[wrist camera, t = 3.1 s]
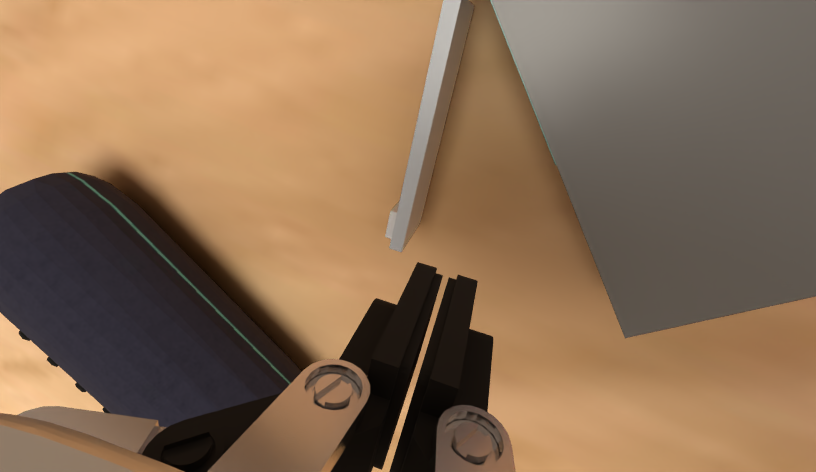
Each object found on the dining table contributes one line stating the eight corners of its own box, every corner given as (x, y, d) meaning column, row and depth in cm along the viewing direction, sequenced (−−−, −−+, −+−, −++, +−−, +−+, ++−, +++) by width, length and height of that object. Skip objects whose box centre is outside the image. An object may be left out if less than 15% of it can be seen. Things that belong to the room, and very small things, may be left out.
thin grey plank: (419, 223, 25) (401, 252, 22) (401, 217, 25) (379, 245, 22) (474, 5, 20) (462, -6, 16) (450, 0, 20) (432, -13, 16)
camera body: (831, 225, 20) (932, 281, 15) (587, 292, 25) (603, 351, 20) (732, -222, 15) (831, -356, 10) (453, -37, 20) (428, -68, 15)
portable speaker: (71, 219, 34) (-89, 277, 25) (119, 142, 30) (-55, 178, 21) (281, 425, 37) (205, 540, 28) (353, 383, 33) (289, 504, 24)
